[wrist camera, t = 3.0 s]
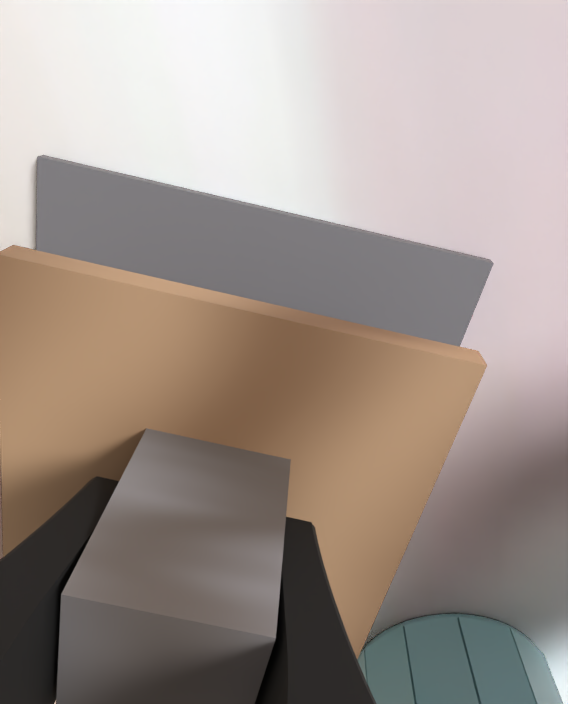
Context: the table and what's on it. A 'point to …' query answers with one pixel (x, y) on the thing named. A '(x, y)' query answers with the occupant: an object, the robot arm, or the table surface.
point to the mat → (255, 252)
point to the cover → (208, 465)
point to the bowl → (456, 663)
